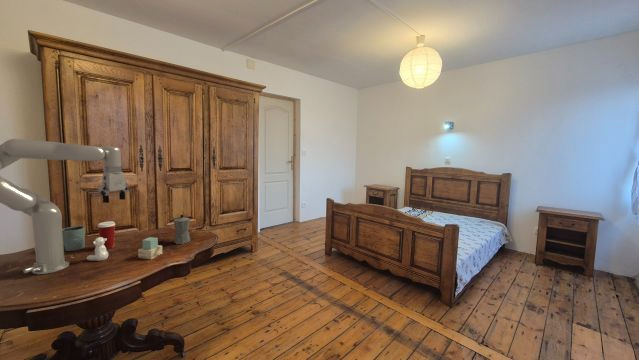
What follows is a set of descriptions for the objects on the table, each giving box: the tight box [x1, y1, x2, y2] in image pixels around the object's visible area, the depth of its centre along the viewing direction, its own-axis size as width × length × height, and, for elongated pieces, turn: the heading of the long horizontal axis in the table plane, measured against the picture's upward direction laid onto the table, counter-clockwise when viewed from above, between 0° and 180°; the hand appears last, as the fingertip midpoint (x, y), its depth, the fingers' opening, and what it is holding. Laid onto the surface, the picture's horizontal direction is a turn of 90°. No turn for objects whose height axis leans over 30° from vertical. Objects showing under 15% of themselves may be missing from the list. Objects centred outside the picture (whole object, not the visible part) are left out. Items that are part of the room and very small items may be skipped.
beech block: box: [137, 244, 163, 260], centre depth 146 cm, size 8×8×5 cm
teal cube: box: [141, 236, 159, 250], centre depth 145 cm, size 5×5×5 cm
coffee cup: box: [97, 221, 116, 250], centre depth 155 cm, size 8×8×15 cm
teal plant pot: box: [62, 225, 86, 252], centre depth 153 cm, size 10×10×12 cm
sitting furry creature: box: [86, 236, 109, 262], centre depth 140 cm, size 10×9×12 cm
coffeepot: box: [173, 214, 191, 245], centre depth 169 cm, size 15×9×18 cm, turn 27°
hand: (114, 201), depth 144 cm, fingers open, 9 cm apart
